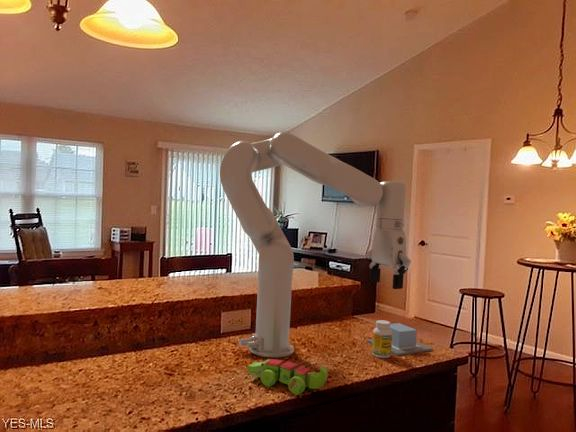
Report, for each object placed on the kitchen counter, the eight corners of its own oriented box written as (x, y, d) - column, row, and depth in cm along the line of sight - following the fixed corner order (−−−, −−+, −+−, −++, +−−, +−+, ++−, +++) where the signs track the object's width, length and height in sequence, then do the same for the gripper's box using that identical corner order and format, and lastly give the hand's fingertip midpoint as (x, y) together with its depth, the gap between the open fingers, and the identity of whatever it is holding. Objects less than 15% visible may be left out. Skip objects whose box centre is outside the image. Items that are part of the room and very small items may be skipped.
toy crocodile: (242, 380, 114) (244, 355, 114) (257, 372, 120) (259, 348, 120) (318, 401, 104) (319, 373, 104) (330, 391, 110) (332, 364, 110)
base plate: (396, 355, 138) (397, 353, 138) (366, 341, 150) (366, 339, 150) (432, 350, 144) (432, 348, 144) (400, 337, 157) (400, 335, 156)
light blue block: (398, 348, 142) (399, 331, 142) (381, 340, 149) (382, 324, 149) (415, 346, 145) (416, 330, 145) (398, 338, 152) (399, 323, 152)
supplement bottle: (381, 351, 141) (383, 318, 141) (395, 356, 137) (397, 323, 136) (367, 353, 138) (369, 320, 138) (381, 359, 134) (383, 325, 133)
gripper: (421, 228, 130) (417, 290, 131) (380, 223, 145) (376, 279, 146) (400, 227, 127) (396, 292, 127) (360, 222, 142) (356, 280, 142)
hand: (385, 285), depth 137 cm, fingers open, 9 cm apart
